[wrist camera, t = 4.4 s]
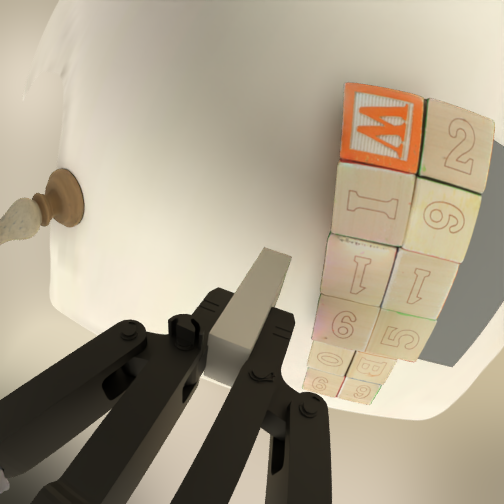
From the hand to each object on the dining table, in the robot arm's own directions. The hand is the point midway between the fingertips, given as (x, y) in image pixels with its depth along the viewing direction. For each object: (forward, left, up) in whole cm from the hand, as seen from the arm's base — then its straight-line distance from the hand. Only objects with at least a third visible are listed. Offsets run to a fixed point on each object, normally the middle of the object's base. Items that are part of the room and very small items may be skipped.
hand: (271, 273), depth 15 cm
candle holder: (+7, -32, -11) cm, 34 cm away
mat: (0, +17, -11) cm, 20 cm away
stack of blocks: (0, +7, -10) cm, 13 cm away
